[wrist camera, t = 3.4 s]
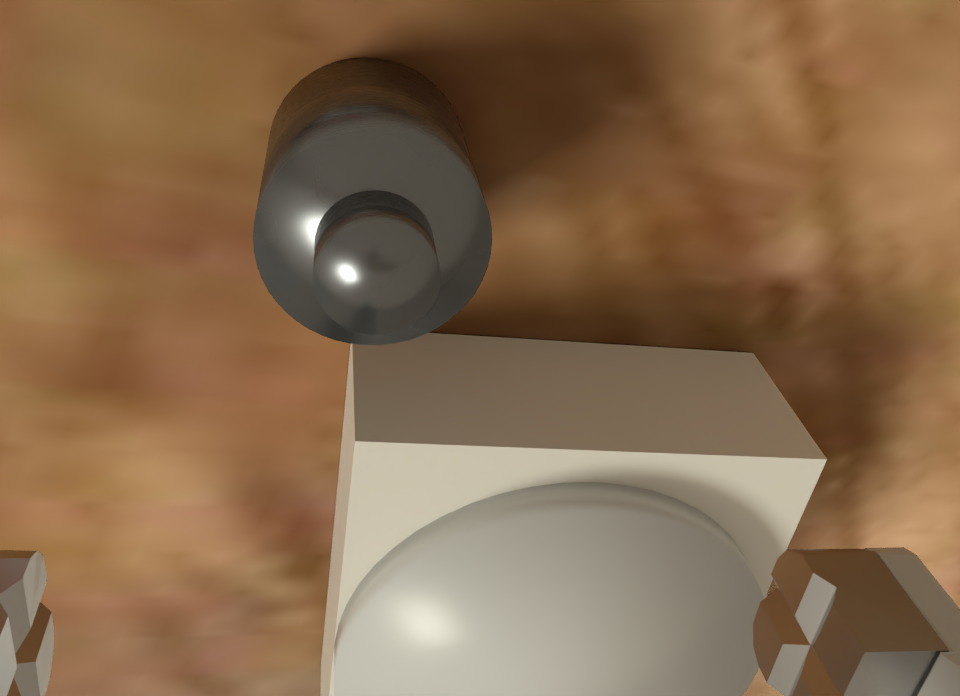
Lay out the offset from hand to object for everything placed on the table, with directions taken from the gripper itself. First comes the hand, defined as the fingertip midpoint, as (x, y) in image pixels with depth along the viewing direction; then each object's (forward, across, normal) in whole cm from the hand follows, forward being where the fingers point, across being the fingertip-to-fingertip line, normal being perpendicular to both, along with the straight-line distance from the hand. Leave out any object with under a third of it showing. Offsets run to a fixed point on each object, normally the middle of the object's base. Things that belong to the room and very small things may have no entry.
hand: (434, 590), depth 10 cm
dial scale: (+15, -6, +12) cm, 20 cm away
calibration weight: (+15, 0, 0) cm, 15 cm away
